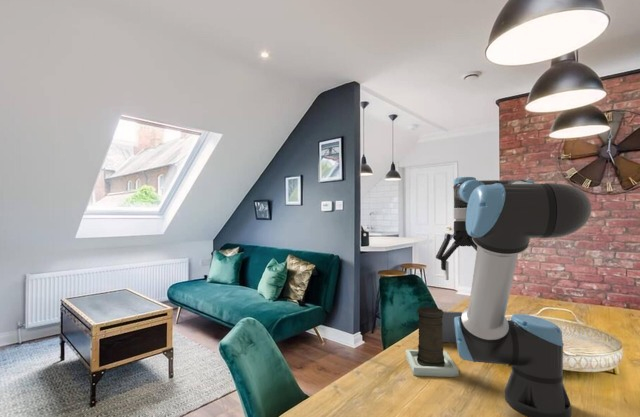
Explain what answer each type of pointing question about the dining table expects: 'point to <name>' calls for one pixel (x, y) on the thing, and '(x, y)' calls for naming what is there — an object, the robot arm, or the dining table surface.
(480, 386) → the dining table surface
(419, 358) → the container
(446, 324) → the dock
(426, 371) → the tray
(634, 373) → the dining table surface
